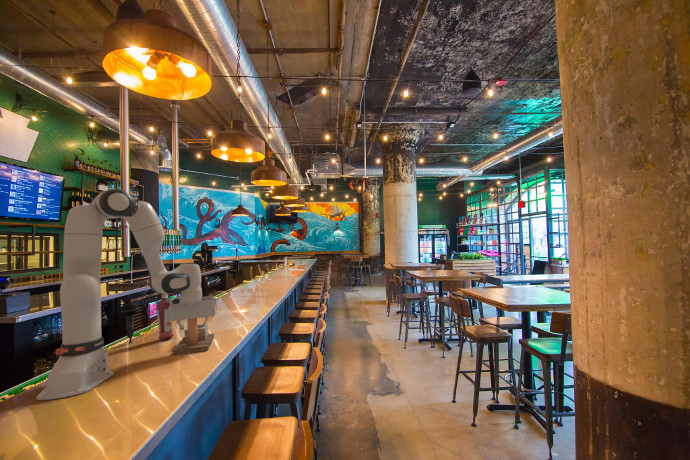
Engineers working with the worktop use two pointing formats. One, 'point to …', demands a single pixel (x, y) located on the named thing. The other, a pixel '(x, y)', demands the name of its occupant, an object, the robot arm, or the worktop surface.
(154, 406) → the worktop surface
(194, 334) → the peg
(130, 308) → the microphone
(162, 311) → the liquor
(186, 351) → the well board
